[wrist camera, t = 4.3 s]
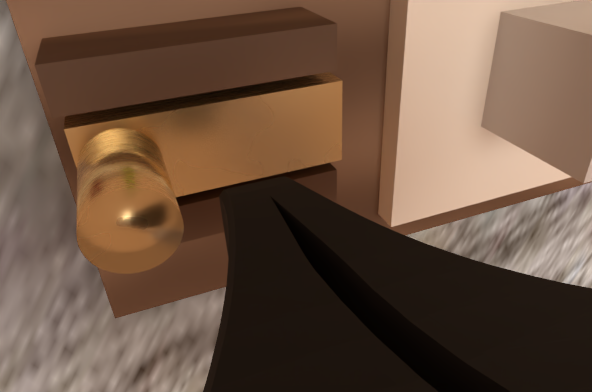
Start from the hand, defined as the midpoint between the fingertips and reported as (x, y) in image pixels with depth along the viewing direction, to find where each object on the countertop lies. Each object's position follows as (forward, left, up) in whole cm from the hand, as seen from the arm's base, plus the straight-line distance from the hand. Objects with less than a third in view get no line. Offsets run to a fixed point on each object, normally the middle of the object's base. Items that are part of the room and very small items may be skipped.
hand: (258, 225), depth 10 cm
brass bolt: (0, 0, -5) cm, 5 cm away
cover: (0, -12, -6) cm, 14 cm away
